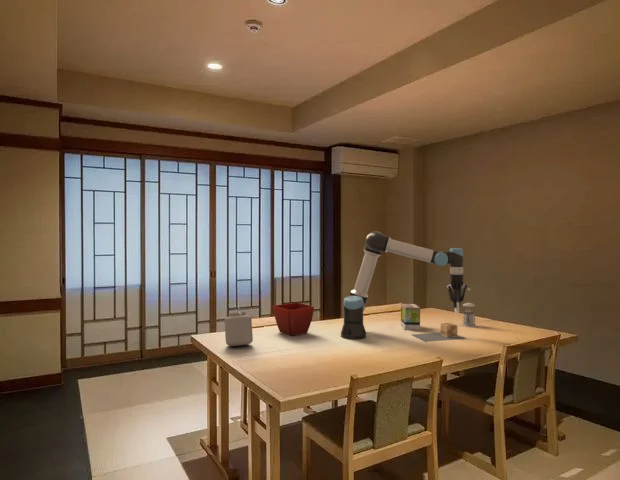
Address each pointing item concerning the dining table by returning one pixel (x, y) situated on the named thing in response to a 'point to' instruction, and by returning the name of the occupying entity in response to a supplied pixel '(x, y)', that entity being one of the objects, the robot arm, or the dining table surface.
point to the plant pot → (293, 318)
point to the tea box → (410, 316)
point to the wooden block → (448, 329)
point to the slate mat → (435, 337)
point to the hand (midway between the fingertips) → (456, 313)
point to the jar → (238, 329)
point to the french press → (468, 316)
